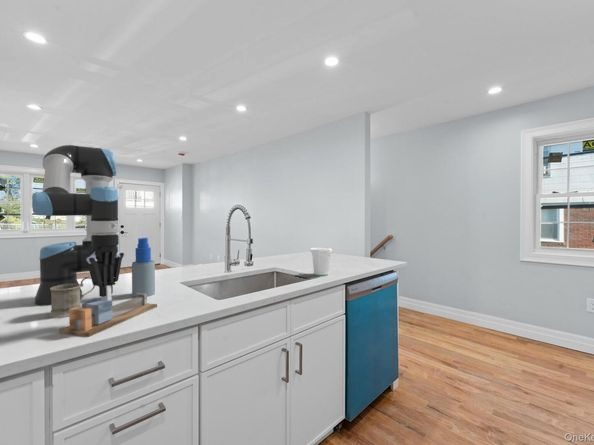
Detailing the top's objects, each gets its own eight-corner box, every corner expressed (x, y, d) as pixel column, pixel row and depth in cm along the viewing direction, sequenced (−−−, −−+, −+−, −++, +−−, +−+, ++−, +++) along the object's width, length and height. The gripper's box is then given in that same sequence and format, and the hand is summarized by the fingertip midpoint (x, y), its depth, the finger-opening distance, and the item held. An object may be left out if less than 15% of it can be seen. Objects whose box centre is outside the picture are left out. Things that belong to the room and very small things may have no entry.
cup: (332, 276, 166) (332, 250, 166) (310, 276, 166) (311, 249, 166) (330, 272, 179) (330, 247, 178) (310, 272, 179) (310, 247, 178)
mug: (55, 320, 98) (54, 284, 97) (43, 314, 103) (42, 280, 102) (102, 308, 110) (101, 276, 109) (89, 304, 115) (89, 273, 115)
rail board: (59, 332, 87) (59, 309, 87) (133, 304, 114) (132, 286, 114) (89, 336, 85) (88, 312, 84) (157, 306, 112) (156, 288, 112)
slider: (82, 322, 92) (81, 303, 92) (96, 317, 97) (96, 299, 96) (98, 324, 90) (98, 305, 90) (112, 318, 95) (112, 300, 95)
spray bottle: (145, 290, 135) (145, 236, 134) (159, 293, 131) (158, 237, 130) (127, 295, 126) (126, 238, 126) (141, 298, 123) (140, 239, 122)
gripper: (96, 235, 88) (97, 312, 89) (130, 232, 101) (131, 300, 102) (76, 235, 90) (78, 310, 91) (112, 232, 103) (113, 298, 104)
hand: (106, 305), depth 96 cm, fingers closed
